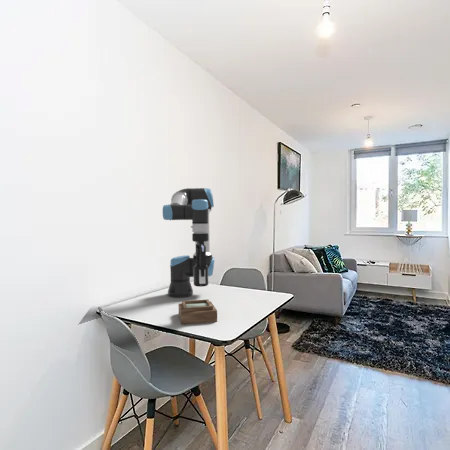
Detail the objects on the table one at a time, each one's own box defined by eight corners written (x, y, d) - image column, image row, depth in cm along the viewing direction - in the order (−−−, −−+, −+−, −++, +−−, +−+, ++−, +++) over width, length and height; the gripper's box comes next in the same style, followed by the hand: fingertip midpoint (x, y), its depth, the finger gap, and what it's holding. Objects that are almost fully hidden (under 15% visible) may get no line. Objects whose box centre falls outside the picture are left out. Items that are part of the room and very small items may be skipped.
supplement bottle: (204, 287, 143) (204, 260, 143) (191, 286, 146) (190, 260, 145) (210, 284, 150) (210, 258, 149) (197, 283, 152) (197, 258, 152)
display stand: (178, 313, 154) (178, 300, 154) (211, 311, 157) (210, 298, 157) (181, 324, 138) (181, 309, 138) (217, 321, 142) (217, 307, 142)
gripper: (189, 231, 156) (190, 278, 156) (195, 234, 137) (196, 287, 137) (204, 231, 158) (205, 277, 158) (212, 233, 138) (213, 285, 139)
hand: (201, 281), depth 148 cm, fingers closed on supplement bottle, 7 cm apart
